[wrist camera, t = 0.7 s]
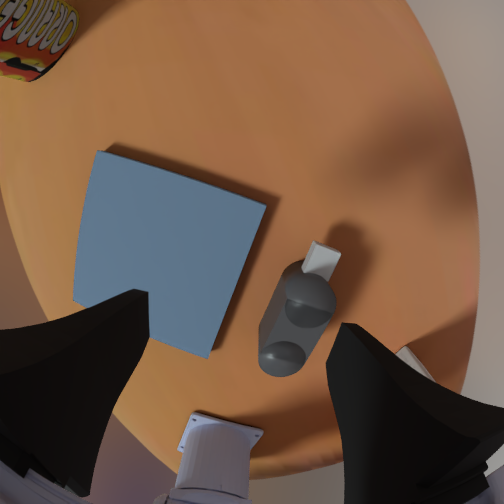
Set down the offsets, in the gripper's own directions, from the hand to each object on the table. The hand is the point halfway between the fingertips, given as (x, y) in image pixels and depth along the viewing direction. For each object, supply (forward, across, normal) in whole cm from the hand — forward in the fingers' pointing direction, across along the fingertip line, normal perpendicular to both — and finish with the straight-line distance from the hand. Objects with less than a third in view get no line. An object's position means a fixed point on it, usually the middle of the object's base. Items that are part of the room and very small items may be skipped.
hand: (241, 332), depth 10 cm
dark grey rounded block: (+10, -4, +4) cm, 12 cm away
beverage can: (+11, +24, -18) cm, 32 cm away
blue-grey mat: (+10, +7, +2) cm, 13 cm away
